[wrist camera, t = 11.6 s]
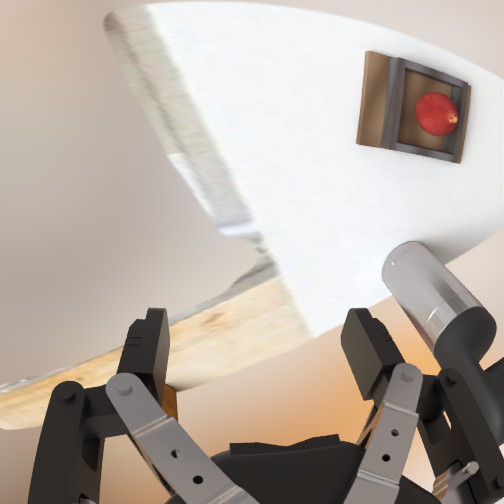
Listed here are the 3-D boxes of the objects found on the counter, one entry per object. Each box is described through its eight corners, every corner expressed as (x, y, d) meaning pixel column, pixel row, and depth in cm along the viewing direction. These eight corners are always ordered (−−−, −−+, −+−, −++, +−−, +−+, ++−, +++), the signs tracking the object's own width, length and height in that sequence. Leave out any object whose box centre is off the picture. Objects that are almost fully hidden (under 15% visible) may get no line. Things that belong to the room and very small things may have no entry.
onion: (427, 84, 33) (464, 87, 26) (442, 120, 35) (478, 131, 28) (397, 100, 34) (432, 105, 27) (413, 137, 37) (448, 150, 30)
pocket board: (466, 85, 34) (481, 87, 31) (456, 162, 40) (469, 168, 36) (365, 51, 32) (377, 49, 29) (356, 143, 38) (367, 148, 35)
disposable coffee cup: (130, 380, 55) (119, 430, 45) (173, 375, 55) (168, 428, 45) (150, 406, 60) (144, 453, 49) (191, 402, 60) (189, 451, 49)
